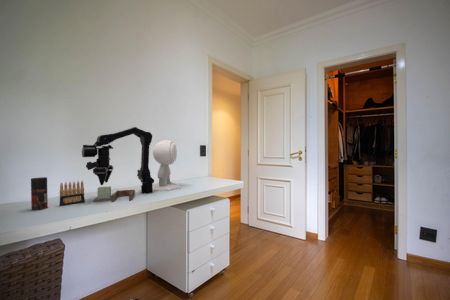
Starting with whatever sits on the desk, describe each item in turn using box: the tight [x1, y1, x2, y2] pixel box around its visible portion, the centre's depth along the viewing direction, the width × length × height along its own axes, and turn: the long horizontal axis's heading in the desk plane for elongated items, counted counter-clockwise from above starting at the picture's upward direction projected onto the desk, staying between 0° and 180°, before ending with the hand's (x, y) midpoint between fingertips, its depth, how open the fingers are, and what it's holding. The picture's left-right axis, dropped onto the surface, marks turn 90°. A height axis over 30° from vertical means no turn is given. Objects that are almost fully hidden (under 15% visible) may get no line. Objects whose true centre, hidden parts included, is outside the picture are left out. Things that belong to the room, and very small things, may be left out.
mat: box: [92, 196, 111, 202], centre depth 122 cm, size 9×9×1 cm
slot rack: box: [110, 189, 136, 203], centre depth 123 cm, size 10×14×4 cm
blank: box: [97, 186, 112, 199], centre depth 122 cm, size 6×4×6 cm, turn 106°
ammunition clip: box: [59, 180, 86, 207], centre depth 111 cm, size 11×2×12 cm, turn 132°
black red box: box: [30, 176, 49, 211], centre depth 103 cm, size 6×6×15 cm
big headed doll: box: [152, 139, 181, 192], centre depth 154 cm, size 20×23×35 cm
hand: (104, 183), depth 122 cm, fingers open, 9 cm apart
